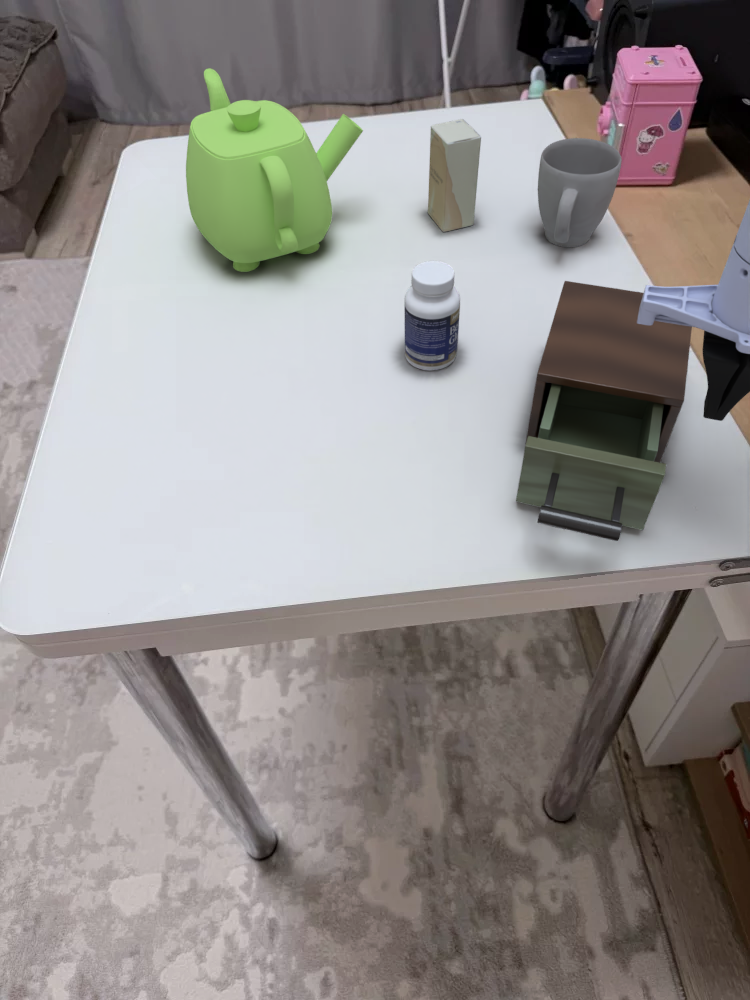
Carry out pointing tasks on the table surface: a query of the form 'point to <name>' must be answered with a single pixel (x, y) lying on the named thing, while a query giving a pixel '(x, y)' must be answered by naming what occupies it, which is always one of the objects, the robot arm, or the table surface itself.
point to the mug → (576, 188)
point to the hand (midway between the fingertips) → (713, 410)
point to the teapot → (260, 178)
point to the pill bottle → (431, 316)
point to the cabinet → (612, 353)
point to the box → (453, 174)
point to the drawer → (593, 462)
